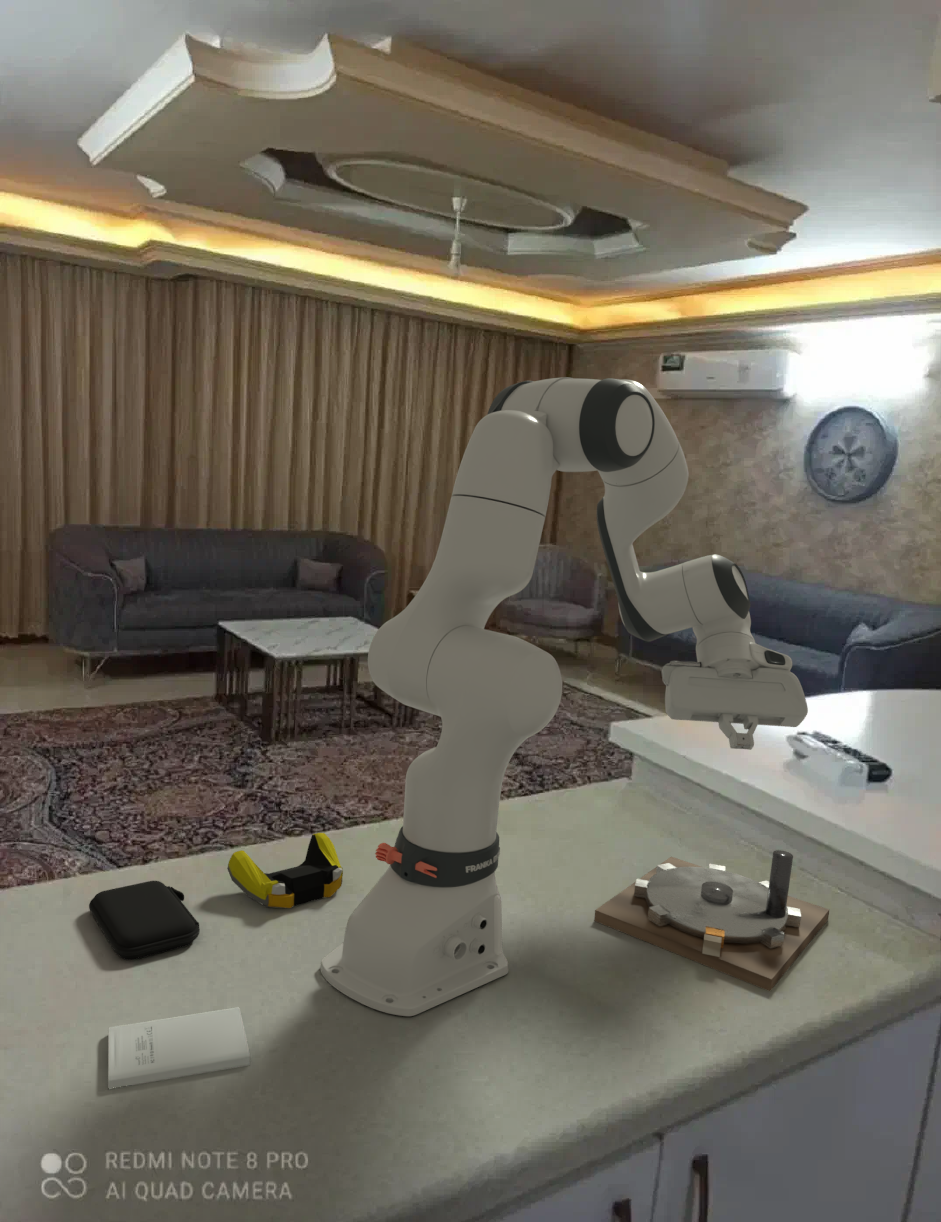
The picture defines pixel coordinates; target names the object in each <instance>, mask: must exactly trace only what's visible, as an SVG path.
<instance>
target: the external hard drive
mask: <svg viewBox="0 0 941 1222" xmlns="http://www.w3.org/2000/svg"><path fill="white" fill-rule="evenodd" d="M243 1021H244V1020H243V1017H242V1012H241V1009H240V1007H239V1006H236V1007H230V1008H224V1009H217V1010H211V1011H205V1012H197V1013H191V1014H186V1015H179V1016H173V1017H167V1018H158V1019H153V1020H148V1021H141V1022H135V1023H128V1024H121V1025H115V1026H109V1027H108V1028H107V1031H108V1032H107V1033H108V1035H107V1040H108V1043H107V1044H108V1046H107V1047H108V1050H107V1054H108V1055H107V1059H108V1061H107V1063H108V1064H107V1089H108V1088H113V1087H114V1088H115V1087H120V1086H126V1085H132V1086H136V1085H137V1086H138V1085H143V1084H149V1083H154V1082H161V1081H166V1080H172V1079H177V1078H183V1077H189V1076H194V1075H200V1074H201V1075H202V1074H206V1073H212V1072H218V1071H222V1070H223V1071H224V1070H230V1069H236V1068H241V1067H246V1066H247V1067H248V1066H251V1065H250V1064H251V1053H250V1052H251V1051H250V1048H249V1044H248V1043H249V1042H248V1039H247V1034H246V1029H245V1027H244V1026H245V1025H244V1022H243ZM126 1087H127V1086H126ZM120 1088H121V1087H120ZM115 1089H116V1088H115Z"/></svg>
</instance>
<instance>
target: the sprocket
mask: <svg viewBox="0 0 941 1222" xmlns="http://www.w3.org/2000/svg"><path fill="white" fill-rule="evenodd" d="M793 858H794V854H792V853H791V852H789V851H786V850H779V849H778V850H776V849H775V850H773V852H772V858H771V859H772V860H771V865H770V873H769V880H763V881H759V882H758V881H757V880H754V879H752V878H750V877H747V876H744V875H741V874H738V873H735V872H732V871H727V870H726V866H725V865H720V864H719V865H718V864H714V863H709V865H708V867H705V866H704V867H703V866H701V867H677V868H676V867H675V866H673V865H672V864H670V863H666V864H661V863H660V864H661V865H660V864H657V865H656V867H657V870H656V874H655V875H653V876H652V877H651V878H650V879H649V881H647V880H641V879H640V878H636V880H635V882H636V884H635V891H634V896H636V897H642V898H646V901H647V904H648V906H649V911H648V919H649V920H651V921H652V922H653V923H655V924H656V925H658V926H659V927H660V926H664V925H668V924H669V925H671V926H673V927H675V928H677V929H679V930H681V931H684V932H686V933H689V934H692V935H695V936H698V937H701V938H704V934H707V935H712V936H717V937H722V939H721V948H723V944H724V942H726V943H743V944H747V943H758V942H761V943H762V944H764V945H766V946H767V947H769V948H774V947H778V946H781V945H783V942H784V935H785V933H783V932H784V930H785V929H786V925H789V926H794V927H799V928H800V921H801V913H800V909H798V908H792V907H787V898H788V896H789V888H790V882H791V874H792V866H793V860H794V859H793Z"/></svg>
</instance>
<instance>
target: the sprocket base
mask: <svg viewBox="0 0 941 1222" xmlns="http://www.w3.org/2000/svg"><path fill="white" fill-rule="evenodd" d="M666 863H670V864H672V865H673V866H675V867H676V868H677V867H702V865H701V866H700V865H698V864H695V863H691V862H688V861H686V860H683V859H679V858H677V857H674V856H670V857H668V858H667V859H665V860H664V861H663V862H661V863H660V864H659V865H661V864H666ZM656 870H657V866H655V867H654V868H653V869H651V870H650V871H649V872H647V873H646V874H644V875H642V876H641V877H639V879H641V880H647V881H649V879H650V878H651V877H652V876H653V875H655V874H656ZM635 884H636V881H634V882H633V883H631V884H630V885H628V886H627V887H626V888H624V889H623V890H622V891H621V892H618V893H617V894H616V895H614V896H613V897H612V898H610V899H609V900H607V901H606V902H605V903H603V904H602V905H600V906H599V907H597V908H596V909H595V911H594V920H593V921H594V922H596V923H599V924H601V925H603V926H606V927H609V928H611V929H613V930H616V931H619V932H621V933H623V934H626V935H628V936H631V937H634V938H636V939H638V940H640V941H644V942H645V943H649V944H651V945H653V946H656V947H658V948H661V949H663V950H666V951H668V952H670V953H673V954H676V955H679V956H681V957H684V958H686V959H688V960H691V961H693V962H696V963H699V964H701V965H703V966H706V967H708V968H711V969H713V970H716V971H718V972H721V973H724V974H726V975H728V976H730V977H733V978H736V979H739V980H741V981H743V982H746V983H748V984H750V985H753V986H754V987H758V988H761V989H762V990H763V989H764V990H765V991H768V992H771V991H772V990H773V989H774V987H776V985H777V984H778V983H779V981H780V980H781V979H782V978H783V977H784V975H785V974H786V972H787V971H789V969H790V967H792V965H793V964H794V963H795V962H796V960H797V959H798V957H800V955H801V954H802V953H803V952H804V950H805V949H806V948H807V947H808V945H809V944H810V943H811V941H813V939H814V938H815V937H816V936H817V934H818V933H819V932H820V931H821V930H822V928H823V927H824V926H825V925H826V924H827V922H828V921H829V915H830V909H829V908H826V907H823V906H819V905H817V904H815V903H811V902H808V901H806V900H802V899H800V898H797V897H793V896H790V895H788V898H787V907H792V908H798V909H800V913H801V921H800V928H799V927H794V926H789V925H786V929H785V930H784V932H783V933H785V935H784V942H783V945H781V946H778V947H774V948H769V947H767V946H766V945H764V944H762V943H761V942H758V943H747V944H743V943H726V942H724V944H723V948H721V939H722V937H717V936H712V935H707V934H704V938H701V937H698V936H695V935H692V934H689V933H686V932H684V931H681V930H679V929H677V928H675V927H673V926H671V925H669V924H668V925H664V926H660V927H659V926H658V925H656V924H655V923H653V922H652V921H651V920H649V919H648V911H649V906H648V904H647V901H646V898H642V897H636V896H634V891H635Z"/></svg>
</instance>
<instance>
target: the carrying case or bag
mask: <svg viewBox="0 0 941 1222" xmlns="http://www.w3.org/2000/svg"><path fill="white" fill-rule="evenodd" d="M184 900H185V895H184V892H182V891H180V890H177V889H175V887H173V886H170V885H168V886H167V885H165V884H164V883H163V882H162V881H159V880H148V881H145V882H140V883H134V884H131V885H126V886H121V887H116V888H111V889H107V890H103V891H100V892H98V893H97V894H95V896H94V897H93V898H92V899H91V900H90V901H89V904H88V909H89V911H90V913H91V915H92V916H93V918H94V920H95V922H96V923H97V925H98V927H99V929H100V930H101V931H102V934H103V935H104V937H105V938H106V940H107V941H108V943H109V945H110V946H111V949H113V951H114V953H115V954H116V955H117V956H119V957H120V958H122V959H123V960H125V961H133V960H138V959H142V958H146V957H150V956H153V955H157V954H162V953H164V952H169V951H172V950H177V949H180V948H185V947H187V946H189V945H192V943H193V942H194V941H195V940H196V939H198V936H199V935H200V929H201V928H200V922H199V921H198V920H196V918H195V917H194V916H193V914H192V913H191V911H189V909H188V908H187V906H186V905H185V904H184V902H183V901H184Z"/></svg>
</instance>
